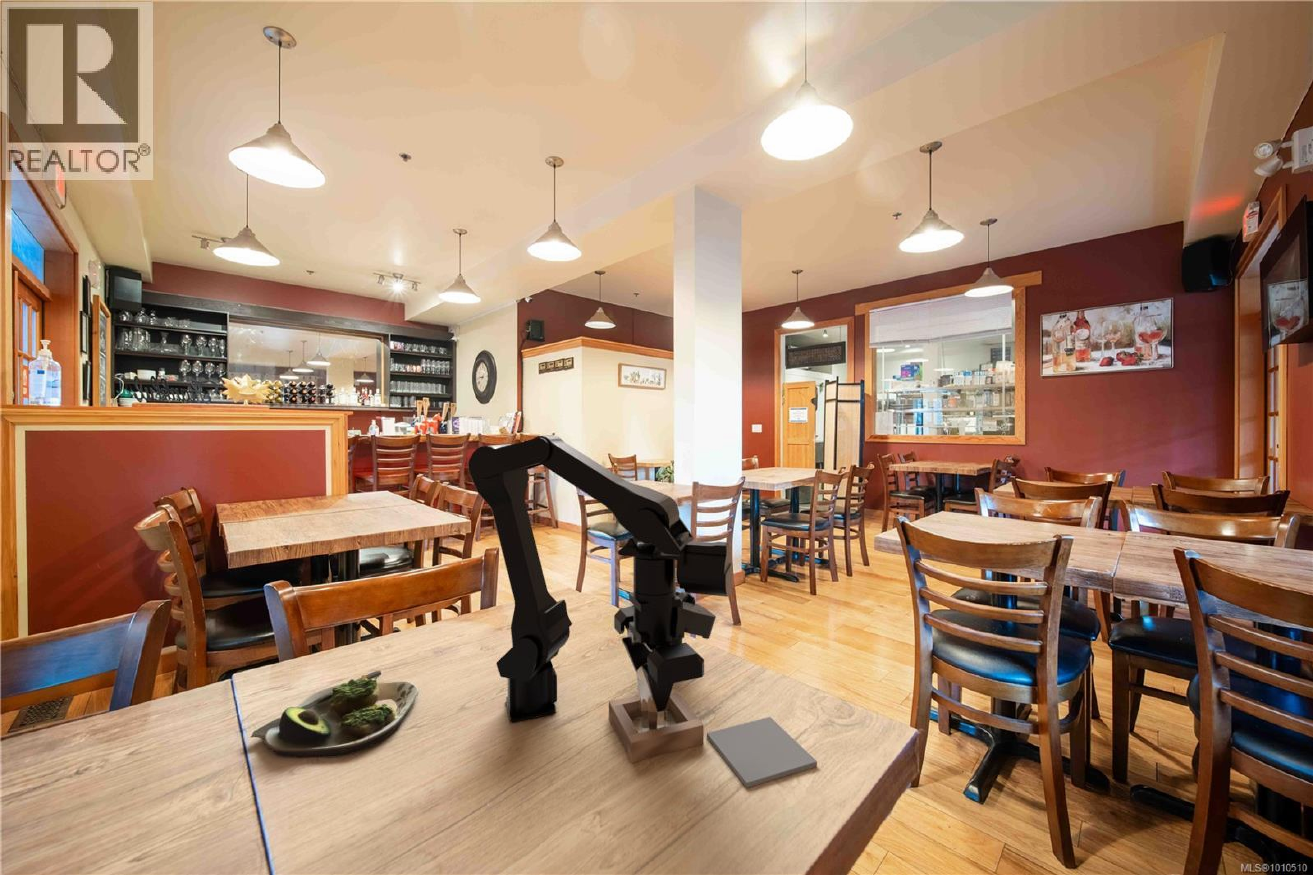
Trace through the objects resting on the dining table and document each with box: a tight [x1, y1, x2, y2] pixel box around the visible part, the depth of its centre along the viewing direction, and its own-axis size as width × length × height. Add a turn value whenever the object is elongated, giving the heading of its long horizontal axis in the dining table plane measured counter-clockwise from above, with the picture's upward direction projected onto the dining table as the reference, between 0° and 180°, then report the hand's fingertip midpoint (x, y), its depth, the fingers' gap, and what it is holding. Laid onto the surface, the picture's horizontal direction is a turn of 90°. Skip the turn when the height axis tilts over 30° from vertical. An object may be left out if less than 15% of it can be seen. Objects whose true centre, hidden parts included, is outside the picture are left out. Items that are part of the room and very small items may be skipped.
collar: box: [608, 687, 705, 763], centre depth 69 cm, size 10×10×2 cm
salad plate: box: [249, 670, 419, 759], centre depth 73 cm, size 19×18×5 cm
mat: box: [706, 716, 818, 789], centre depth 65 cm, size 10×10×1 cm
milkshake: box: [635, 663, 668, 733], centre depth 69 cm, size 4×5×10 cm
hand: (654, 701), depth 69 cm, fingers closed on milkshake, 4 cm apart
